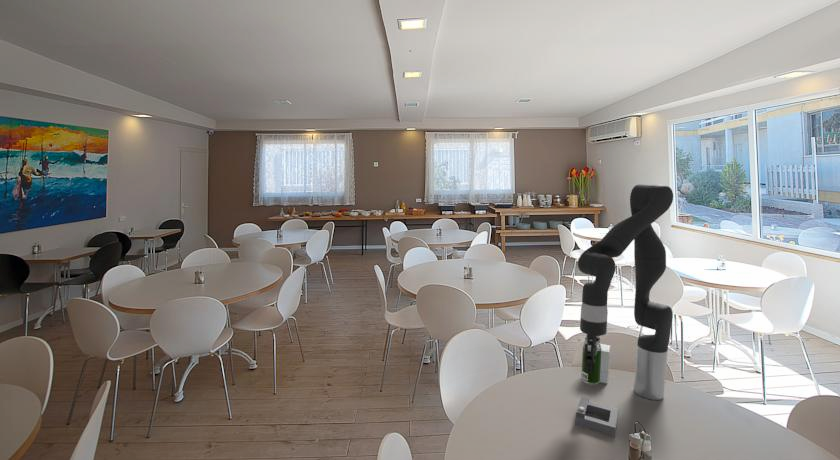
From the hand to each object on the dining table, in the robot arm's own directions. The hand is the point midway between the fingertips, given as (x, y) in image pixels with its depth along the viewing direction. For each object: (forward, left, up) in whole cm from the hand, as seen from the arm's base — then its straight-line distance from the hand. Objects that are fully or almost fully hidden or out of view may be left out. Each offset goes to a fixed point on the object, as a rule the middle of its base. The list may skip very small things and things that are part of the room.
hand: (591, 368), depth 122 cm
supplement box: (-31, 0, -17) cm, 35 cm away
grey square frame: (0, +3, -17) cm, 17 cm away
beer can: (0, 0, -4) cm, 4 cm away
